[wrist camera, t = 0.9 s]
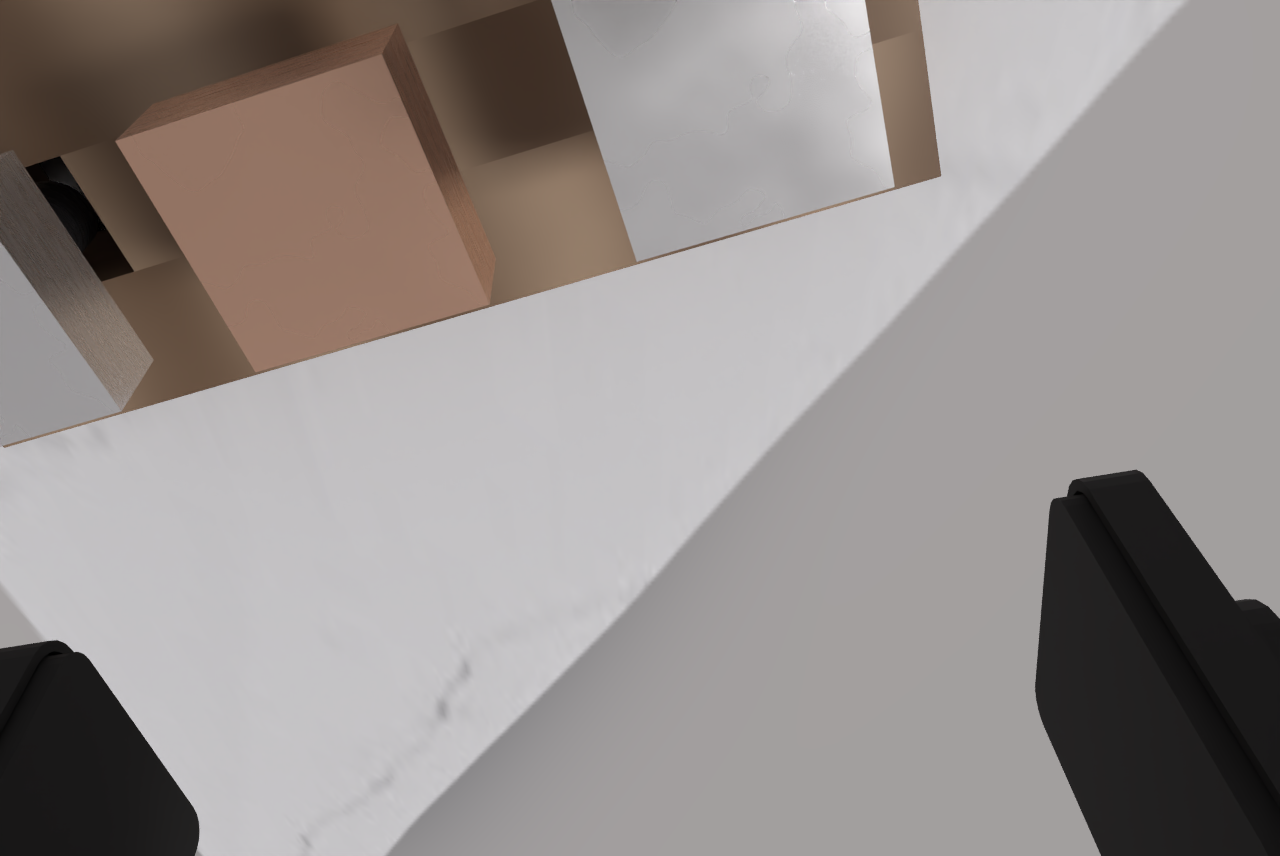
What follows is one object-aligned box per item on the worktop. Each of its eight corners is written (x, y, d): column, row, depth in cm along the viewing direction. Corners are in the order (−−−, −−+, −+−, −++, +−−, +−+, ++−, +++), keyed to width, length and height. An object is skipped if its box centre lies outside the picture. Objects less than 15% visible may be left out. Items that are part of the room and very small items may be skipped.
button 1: (90, 85, 24) (-37, 190, 19) (206, 276, 26) (121, 410, 21) (-103, 150, 24) (-276, 268, 19) (29, 329, 27) (-93, 473, 22)
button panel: (831, -323, 22) (875, -326, 19) (898, 119, 28) (941, 176, 25) (-180, 34, 25) (-292, 85, 22) (64, 367, 31) (3, 447, 28)
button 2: (786, -147, 22) (849, -98, 17) (830, 86, 24) (895, 186, 19) (555, -70, 22) (550, -1, 17) (624, 149, 25) (636, 262, 20)
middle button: (423, -26, 23) (381, 54, 18) (506, 185, 25) (489, 304, 20) (212, 45, 23) (114, 141, 18) (315, 243, 26) (255, 372, 21)
